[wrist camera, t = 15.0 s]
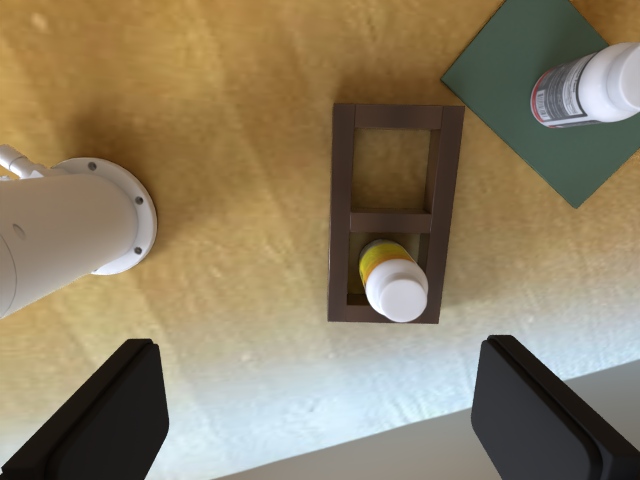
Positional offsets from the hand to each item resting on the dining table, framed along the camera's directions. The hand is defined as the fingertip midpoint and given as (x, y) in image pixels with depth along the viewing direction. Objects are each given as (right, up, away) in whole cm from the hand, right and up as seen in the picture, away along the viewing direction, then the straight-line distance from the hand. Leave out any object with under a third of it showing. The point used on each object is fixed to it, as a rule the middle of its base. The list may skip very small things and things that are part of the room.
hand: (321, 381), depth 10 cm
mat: (+23, +18, +23) cm, 37 cm away
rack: (+7, +6, +26) cm, 28 cm away
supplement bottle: (+7, +2, +28) cm, 29 cm away
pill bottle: (+23, +18, +23) cm, 37 cm away
